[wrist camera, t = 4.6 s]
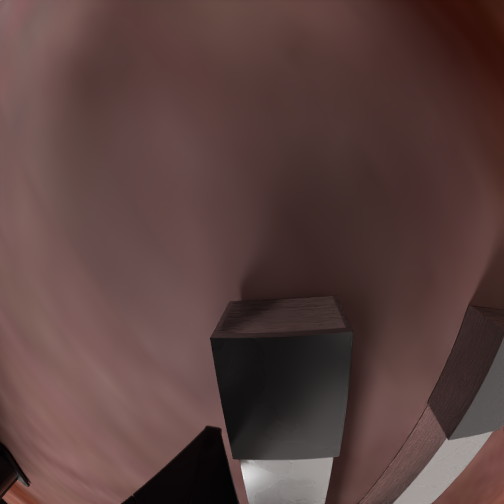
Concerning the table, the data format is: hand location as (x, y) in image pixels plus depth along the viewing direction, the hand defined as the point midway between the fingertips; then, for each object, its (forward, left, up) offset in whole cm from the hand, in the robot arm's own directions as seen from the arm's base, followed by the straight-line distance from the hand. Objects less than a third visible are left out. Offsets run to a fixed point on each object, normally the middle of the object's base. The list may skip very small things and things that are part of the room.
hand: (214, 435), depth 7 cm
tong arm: (-5, -3, -1) cm, 6 cm away
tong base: (-2, -8, -1) cm, 8 cm away
